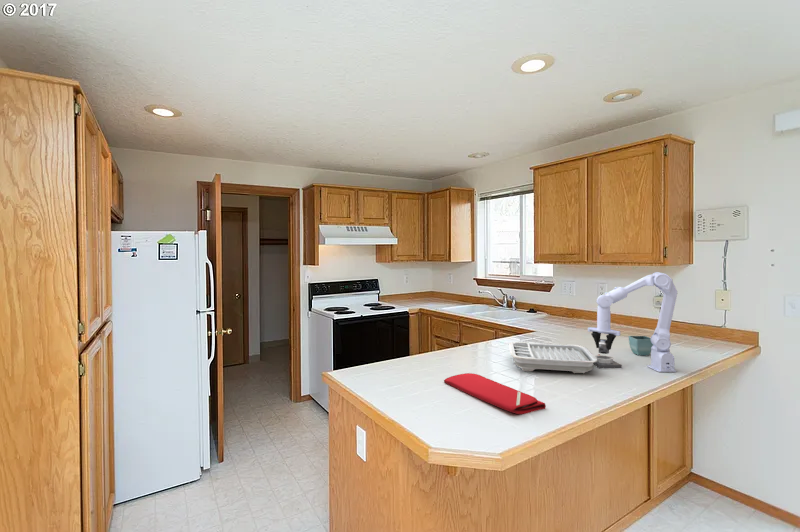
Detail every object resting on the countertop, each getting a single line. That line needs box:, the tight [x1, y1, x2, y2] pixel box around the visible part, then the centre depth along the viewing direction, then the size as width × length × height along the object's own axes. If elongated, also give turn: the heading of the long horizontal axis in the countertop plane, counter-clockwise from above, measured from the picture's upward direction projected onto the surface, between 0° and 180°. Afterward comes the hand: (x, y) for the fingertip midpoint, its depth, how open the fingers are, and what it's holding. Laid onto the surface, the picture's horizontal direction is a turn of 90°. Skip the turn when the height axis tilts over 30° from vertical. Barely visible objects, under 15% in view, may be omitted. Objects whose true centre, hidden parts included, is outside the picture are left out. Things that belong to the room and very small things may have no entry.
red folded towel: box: [443, 372, 547, 415], centre depth 158 cm, size 16×41×4 cm, turn 28°
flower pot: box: [628, 335, 653, 356], centre depth 215 cm, size 9×9×9 cm
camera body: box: [593, 353, 623, 369], centre depth 198 cm, size 14×10×4 cm
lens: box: [598, 338, 610, 355], centre depth 197 cm, size 5×5×6 cm
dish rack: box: [508, 341, 597, 374], centre depth 196 cm, size 32×37×8 cm
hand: (603, 348), depth 197 cm, fingers closed on lens, 5 cm apart
